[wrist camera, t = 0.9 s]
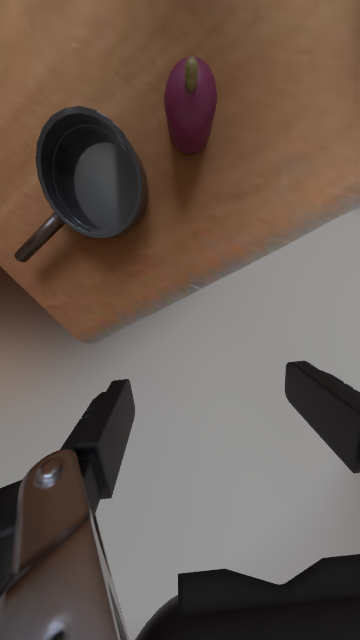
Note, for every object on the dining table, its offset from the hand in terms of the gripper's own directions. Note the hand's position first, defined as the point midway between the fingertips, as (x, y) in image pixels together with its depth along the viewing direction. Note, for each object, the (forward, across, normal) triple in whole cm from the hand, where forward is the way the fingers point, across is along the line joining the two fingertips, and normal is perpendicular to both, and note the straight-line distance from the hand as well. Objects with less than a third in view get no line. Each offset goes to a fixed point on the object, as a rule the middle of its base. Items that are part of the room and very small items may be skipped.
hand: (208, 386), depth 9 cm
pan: (+25, +11, -20) cm, 34 cm away
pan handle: (+25, +22, -14) cm, 36 cm away
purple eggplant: (+23, -3, -25) cm, 34 cm away
